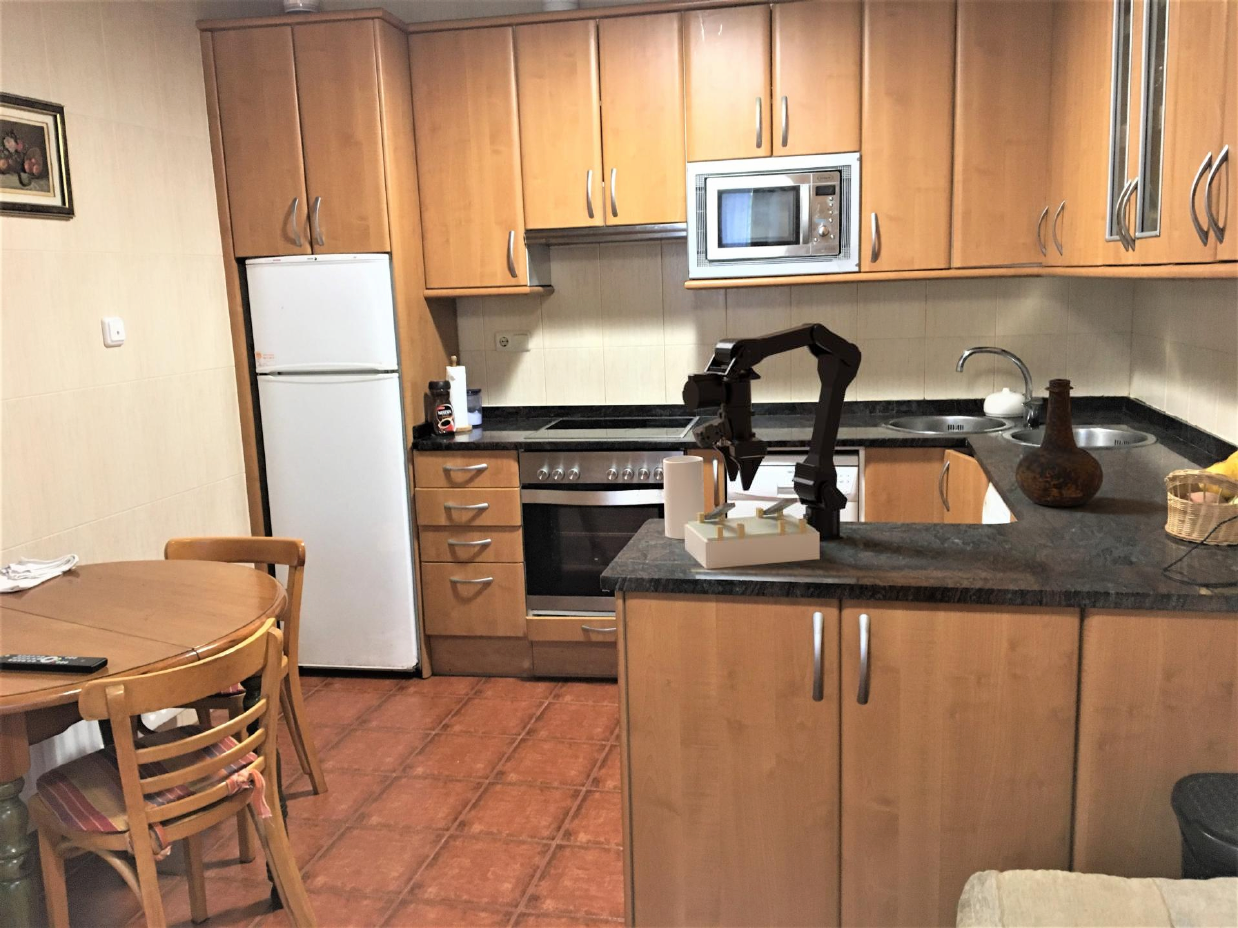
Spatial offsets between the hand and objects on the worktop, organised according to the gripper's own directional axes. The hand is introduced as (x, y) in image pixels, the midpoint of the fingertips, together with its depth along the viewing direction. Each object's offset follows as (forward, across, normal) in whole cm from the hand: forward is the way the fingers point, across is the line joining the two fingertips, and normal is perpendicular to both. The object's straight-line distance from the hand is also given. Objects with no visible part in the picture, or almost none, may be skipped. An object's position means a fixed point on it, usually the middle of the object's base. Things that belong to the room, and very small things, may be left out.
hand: (739, 485), depth 195 cm
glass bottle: (+15, -20, +80) cm, 83 cm away
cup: (+13, -17, -7) cm, 22 cm away
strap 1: (+5, +2, -5) cm, 7 cm away
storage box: (+13, +2, +1) cm, 13 cm away
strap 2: (+5, +2, +7) cm, 9 cm away
